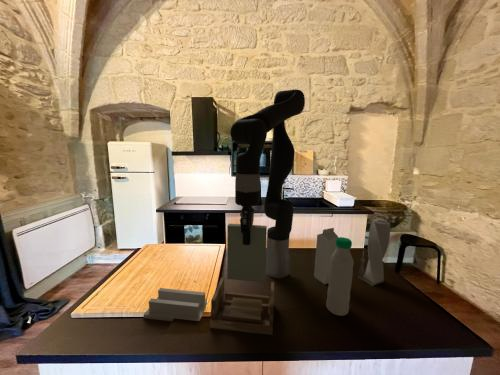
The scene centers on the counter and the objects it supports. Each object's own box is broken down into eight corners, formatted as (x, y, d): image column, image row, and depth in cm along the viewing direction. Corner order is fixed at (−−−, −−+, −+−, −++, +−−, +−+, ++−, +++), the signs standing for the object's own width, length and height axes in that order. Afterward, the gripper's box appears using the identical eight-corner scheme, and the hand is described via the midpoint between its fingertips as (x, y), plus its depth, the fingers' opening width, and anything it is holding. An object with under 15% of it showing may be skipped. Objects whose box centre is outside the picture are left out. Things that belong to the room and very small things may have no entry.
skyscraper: (370, 272, 97) (377, 211, 92) (388, 282, 90) (397, 216, 85) (357, 277, 94) (364, 213, 89) (375, 287, 86) (383, 219, 82)
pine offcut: (233, 306, 69) (233, 297, 68) (261, 309, 68) (262, 300, 67) (230, 316, 64) (230, 307, 64) (260, 319, 63) (261, 310, 63)
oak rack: (222, 299, 78) (222, 275, 76) (273, 304, 76) (274, 280, 74) (210, 331, 64) (210, 302, 62) (272, 338, 62) (273, 309, 60)
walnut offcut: (225, 313, 69) (225, 305, 69) (263, 317, 68) (263, 309, 67) (221, 324, 65) (221, 315, 65) (262, 329, 64) (262, 320, 63)
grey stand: (160, 297, 78) (159, 285, 77) (209, 302, 76) (209, 289, 75) (143, 318, 68) (142, 304, 68) (199, 324, 66) (199, 310, 66)
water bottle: (347, 305, 76) (354, 236, 72) (349, 319, 70) (357, 245, 66) (326, 300, 79) (331, 233, 74) (326, 313, 72) (332, 241, 68)
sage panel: (228, 275, 73) (228, 223, 70) (264, 278, 71) (266, 225, 68) (227, 279, 71) (227, 225, 68) (264, 282, 69) (266, 228, 66)
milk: (313, 277, 93) (317, 227, 89) (324, 273, 96) (328, 225, 92) (324, 284, 88) (328, 232, 84) (335, 281, 90) (339, 229, 87)
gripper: (239, 184, 73) (238, 233, 76) (230, 192, 60) (230, 251, 62) (261, 185, 72) (260, 235, 75) (258, 193, 59) (256, 253, 62)
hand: (247, 242), depth 69 cm, fingers closed on sage panel, 2 cm apart
